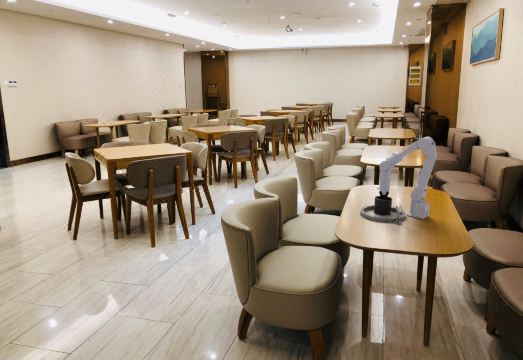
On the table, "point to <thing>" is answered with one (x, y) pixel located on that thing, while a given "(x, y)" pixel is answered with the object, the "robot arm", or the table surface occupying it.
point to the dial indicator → (398, 214)
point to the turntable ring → (380, 217)
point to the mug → (382, 205)
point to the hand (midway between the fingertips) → (383, 203)
